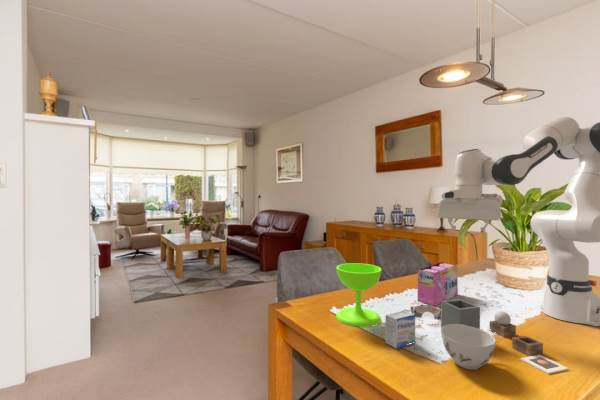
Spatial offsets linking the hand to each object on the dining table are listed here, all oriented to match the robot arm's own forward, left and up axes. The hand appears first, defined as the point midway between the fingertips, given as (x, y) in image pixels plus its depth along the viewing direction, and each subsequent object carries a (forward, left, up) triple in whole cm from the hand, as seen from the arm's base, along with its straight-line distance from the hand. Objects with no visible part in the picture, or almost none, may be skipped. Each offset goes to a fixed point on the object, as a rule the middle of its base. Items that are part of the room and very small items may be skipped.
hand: (467, 231), depth 111 cm
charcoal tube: (+15, +12, -31) cm, 36 cm away
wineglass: (+39, -10, -31) cm, 51 cm away
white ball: (0, +14, -26) cm, 30 cm away
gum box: (-5, -21, -31) cm, 38 cm away
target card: (+7, +31, -31) cm, 45 cm away
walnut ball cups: (+2, +19, -31) cm, 37 cm away
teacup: (+25, +25, -31) cm, 47 cm away
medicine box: (+36, +11, -31) cm, 49 cm away
